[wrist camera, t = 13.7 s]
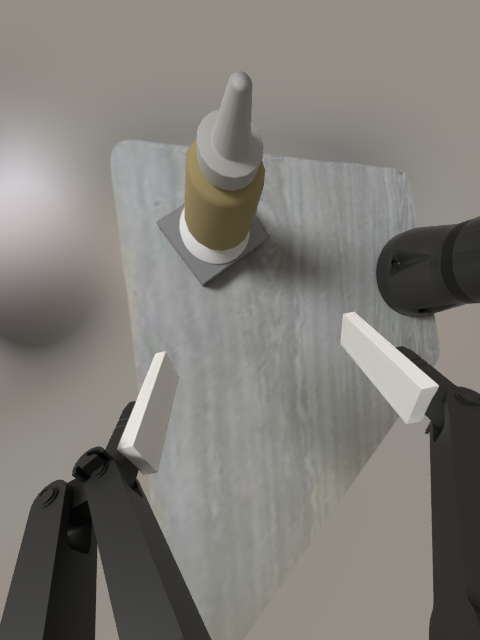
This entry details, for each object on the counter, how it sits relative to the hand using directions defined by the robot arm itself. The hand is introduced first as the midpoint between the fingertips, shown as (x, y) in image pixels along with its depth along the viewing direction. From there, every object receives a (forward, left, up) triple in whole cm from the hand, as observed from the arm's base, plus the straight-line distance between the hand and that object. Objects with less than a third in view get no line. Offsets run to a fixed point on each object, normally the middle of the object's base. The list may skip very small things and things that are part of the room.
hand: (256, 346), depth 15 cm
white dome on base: (-7, -13, -17) cm, 22 cm away
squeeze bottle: (-7, -12, -14) cm, 20 cm away
